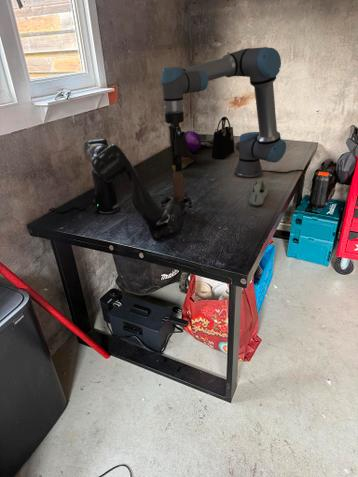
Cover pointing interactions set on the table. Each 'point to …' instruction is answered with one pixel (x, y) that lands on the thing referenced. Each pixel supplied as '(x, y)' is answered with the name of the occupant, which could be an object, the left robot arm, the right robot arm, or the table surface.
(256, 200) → the ballet flat
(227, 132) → the handbag
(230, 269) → the table surface
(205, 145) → the pair of gloves
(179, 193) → the bottle
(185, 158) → the boot
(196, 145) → the decorative orb
